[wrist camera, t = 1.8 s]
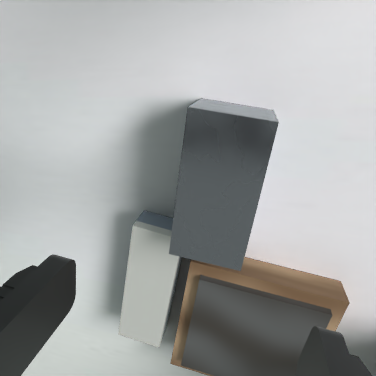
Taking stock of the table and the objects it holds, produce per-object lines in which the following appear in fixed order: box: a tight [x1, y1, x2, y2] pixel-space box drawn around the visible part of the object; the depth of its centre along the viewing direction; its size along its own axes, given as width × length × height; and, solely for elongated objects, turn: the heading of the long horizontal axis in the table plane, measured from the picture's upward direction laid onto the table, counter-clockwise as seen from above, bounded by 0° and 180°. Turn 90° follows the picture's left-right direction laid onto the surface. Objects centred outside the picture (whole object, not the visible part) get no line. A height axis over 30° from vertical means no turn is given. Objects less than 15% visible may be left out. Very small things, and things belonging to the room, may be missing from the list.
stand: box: [171, 257, 349, 376], centre depth 26 cm, size 12×12×3 cm
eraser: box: [118, 211, 182, 348], centre depth 27 cm, size 12×4×3 cm, turn 169°
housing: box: [169, 98, 279, 271], centre depth 21 cm, size 10×5×5 cm, turn 172°
